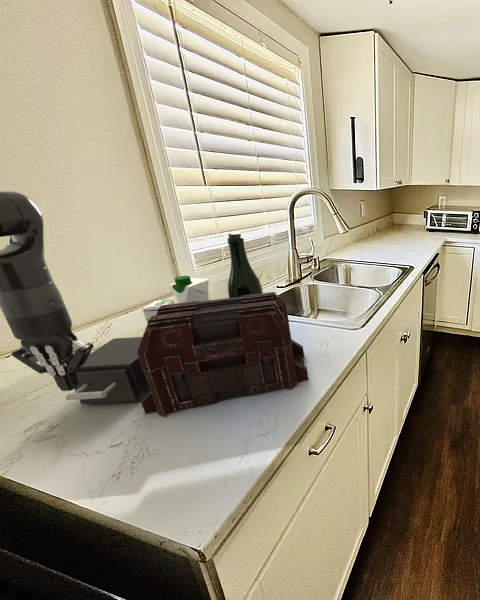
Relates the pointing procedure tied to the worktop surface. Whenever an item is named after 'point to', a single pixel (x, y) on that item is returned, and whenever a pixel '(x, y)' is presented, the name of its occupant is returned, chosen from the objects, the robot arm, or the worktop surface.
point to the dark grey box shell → (120, 361)
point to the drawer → (104, 386)
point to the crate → (218, 352)
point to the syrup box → (154, 308)
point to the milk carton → (190, 289)
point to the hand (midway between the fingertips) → (70, 388)
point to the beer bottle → (241, 270)
